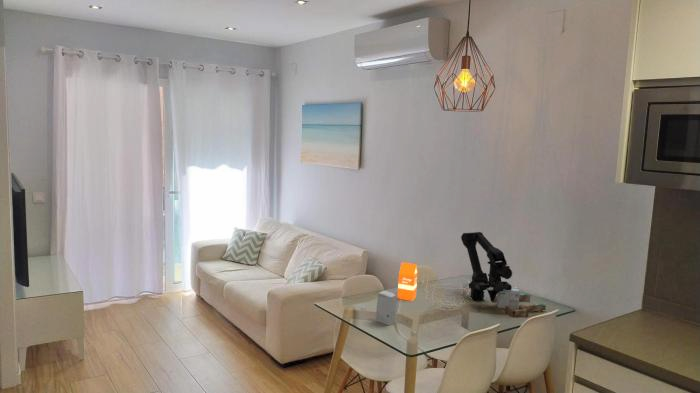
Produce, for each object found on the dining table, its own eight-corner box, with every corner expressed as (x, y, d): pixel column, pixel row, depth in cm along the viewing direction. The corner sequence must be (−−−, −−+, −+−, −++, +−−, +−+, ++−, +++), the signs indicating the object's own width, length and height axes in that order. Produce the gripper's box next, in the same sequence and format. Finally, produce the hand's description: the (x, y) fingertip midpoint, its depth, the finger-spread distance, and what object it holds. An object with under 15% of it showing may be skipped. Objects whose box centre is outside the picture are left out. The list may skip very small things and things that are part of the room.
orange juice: (412, 301, 280) (414, 266, 277) (397, 298, 284) (399, 263, 280) (416, 296, 288) (418, 262, 284) (401, 294, 291) (403, 260, 288)
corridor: (511, 317, 263) (512, 309, 262) (491, 301, 285) (492, 294, 285) (551, 316, 267) (552, 308, 267) (528, 300, 290) (529, 293, 289)
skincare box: (375, 321, 250) (376, 292, 248) (382, 317, 254) (384, 289, 252) (389, 326, 245) (390, 296, 242) (396, 322, 249) (398, 293, 247)
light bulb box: (515, 305, 281) (517, 286, 280) (518, 309, 275) (520, 290, 273) (495, 303, 282) (497, 285, 280) (498, 308, 275) (500, 289, 273)
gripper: (485, 278, 264) (482, 306, 266) (518, 278, 267) (515, 306, 269) (476, 272, 275) (473, 299, 277) (507, 272, 278) (505, 299, 280)
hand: (492, 301), depth 275 cm, fingers closed
